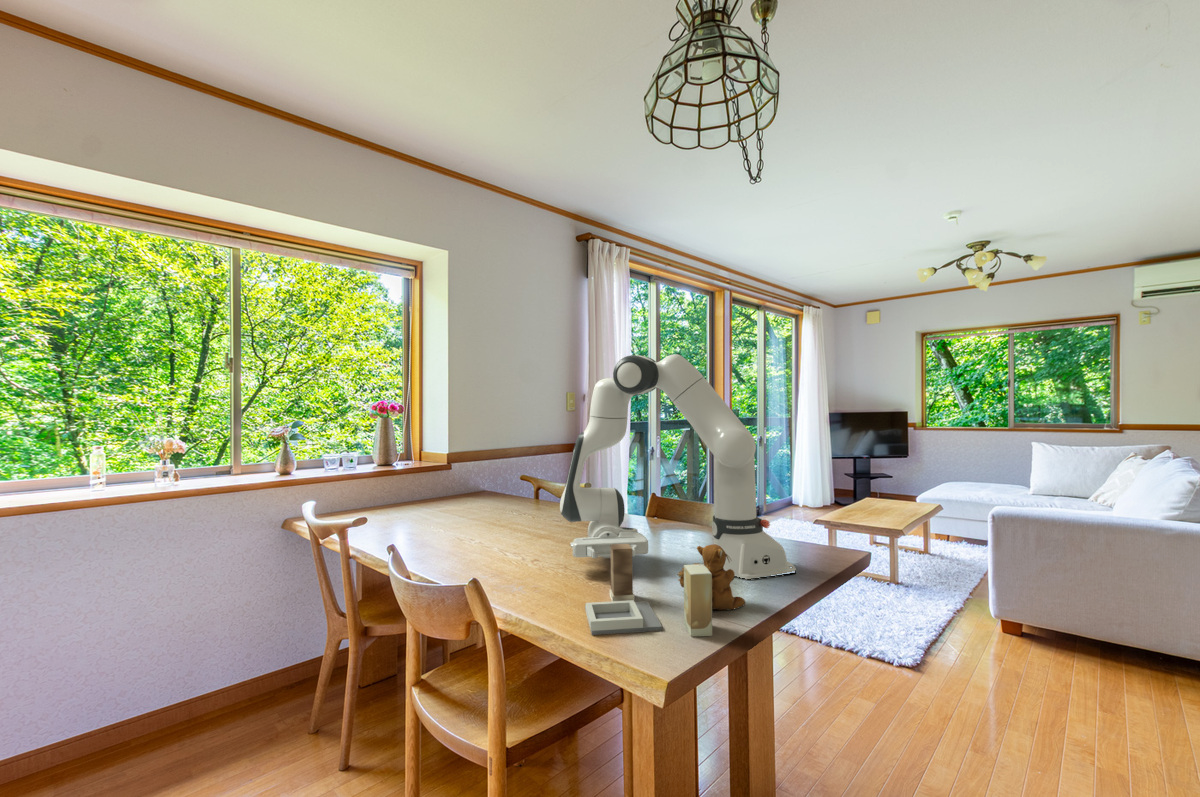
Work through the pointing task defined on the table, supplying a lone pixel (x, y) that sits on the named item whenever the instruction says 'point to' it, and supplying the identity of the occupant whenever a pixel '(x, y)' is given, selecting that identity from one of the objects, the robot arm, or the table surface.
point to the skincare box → (698, 600)
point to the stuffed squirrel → (718, 578)
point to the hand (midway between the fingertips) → (613, 554)
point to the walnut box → (621, 572)
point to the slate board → (621, 617)
